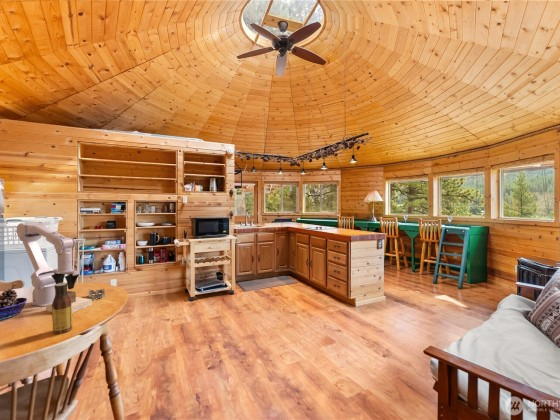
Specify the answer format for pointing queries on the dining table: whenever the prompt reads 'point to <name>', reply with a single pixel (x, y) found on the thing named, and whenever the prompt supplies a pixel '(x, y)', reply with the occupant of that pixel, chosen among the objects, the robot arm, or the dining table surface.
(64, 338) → the dining table surface
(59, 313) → the sauce bottle
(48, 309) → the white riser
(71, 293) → the walnut cube
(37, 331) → the dining table surface
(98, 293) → the egg carton
